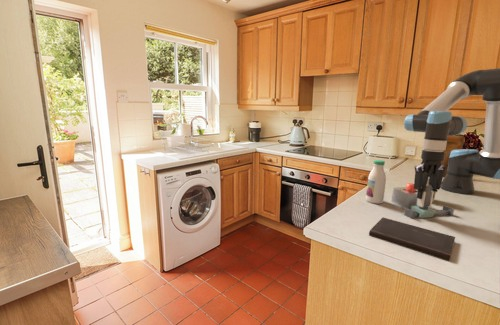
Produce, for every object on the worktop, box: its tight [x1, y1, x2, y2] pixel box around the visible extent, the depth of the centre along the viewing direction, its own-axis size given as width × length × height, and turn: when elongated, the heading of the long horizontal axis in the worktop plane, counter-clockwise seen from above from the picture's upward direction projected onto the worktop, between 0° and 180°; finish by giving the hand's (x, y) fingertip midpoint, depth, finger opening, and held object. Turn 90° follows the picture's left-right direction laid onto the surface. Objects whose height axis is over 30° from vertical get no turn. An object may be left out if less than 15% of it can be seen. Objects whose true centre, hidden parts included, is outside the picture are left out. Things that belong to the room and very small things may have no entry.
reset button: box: [405, 182, 416, 193], centre depth 122 cm, size 4×4×6 cm
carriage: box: [410, 184, 436, 219], centre depth 110 cm, size 6×6×13 cm
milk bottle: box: [365, 159, 387, 205], centre depth 125 cm, size 8×8×20 cm
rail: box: [403, 205, 455, 220], centre depth 111 cm, size 21×4×3 cm, turn 102°
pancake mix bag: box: [441, 135, 466, 178], centre depth 177 cm, size 7×19×28 cm, turn 49°
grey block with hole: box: [390, 186, 418, 210], centre depth 123 cm, size 10×10×7 cm
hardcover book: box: [368, 217, 456, 262], centre depth 91 cm, size 16×23×2 cm
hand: (423, 205), depth 110 cm, fingers closed on carriage, 3 cm apart
